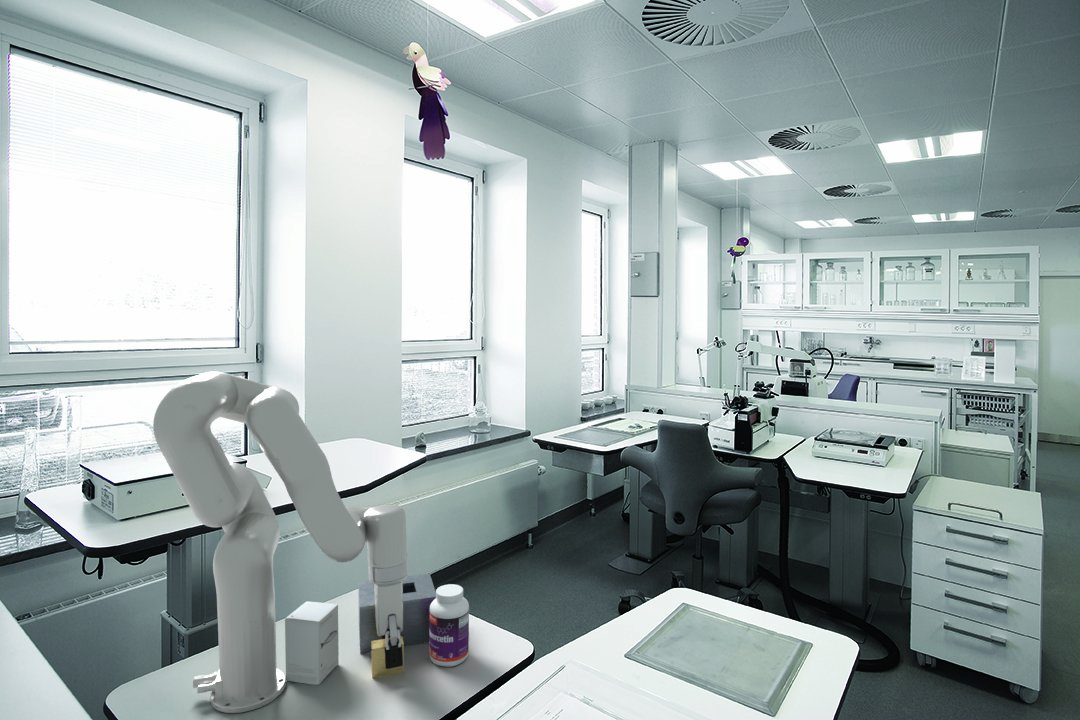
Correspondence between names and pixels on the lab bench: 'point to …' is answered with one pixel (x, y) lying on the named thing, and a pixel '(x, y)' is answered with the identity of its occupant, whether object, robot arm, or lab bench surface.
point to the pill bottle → (449, 626)
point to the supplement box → (311, 642)
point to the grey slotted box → (414, 611)
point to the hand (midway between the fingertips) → (392, 653)
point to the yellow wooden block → (383, 659)
